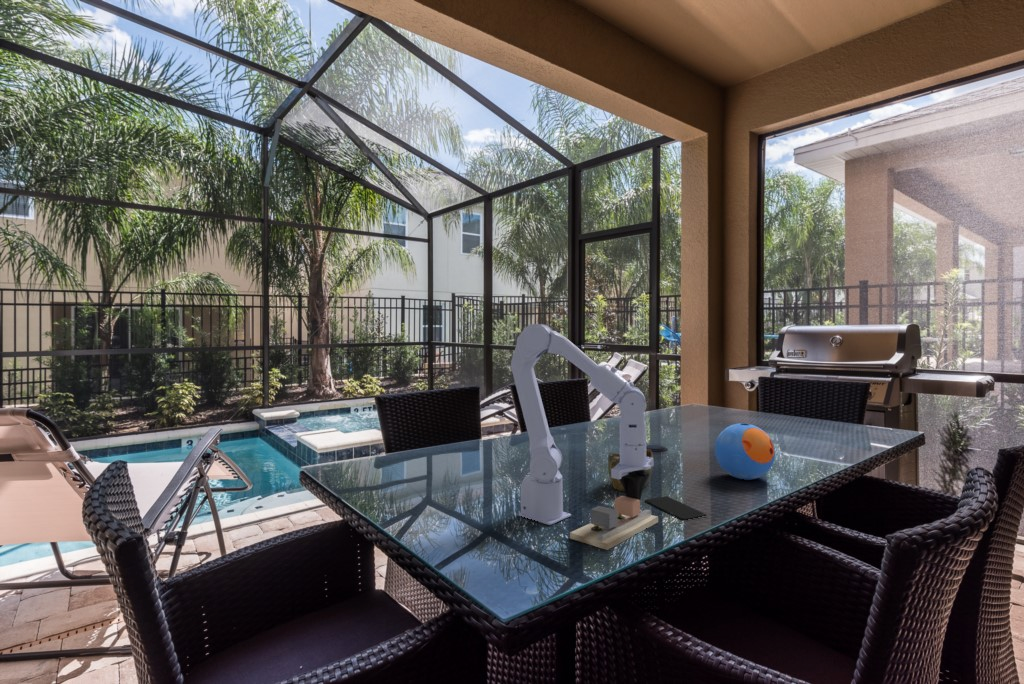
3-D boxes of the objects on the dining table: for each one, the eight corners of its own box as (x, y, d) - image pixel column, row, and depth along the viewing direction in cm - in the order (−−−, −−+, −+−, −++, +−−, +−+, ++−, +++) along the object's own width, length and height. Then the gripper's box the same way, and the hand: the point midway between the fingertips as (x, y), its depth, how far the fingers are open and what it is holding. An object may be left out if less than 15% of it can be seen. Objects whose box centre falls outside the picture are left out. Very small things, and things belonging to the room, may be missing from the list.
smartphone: (682, 519, 119) (643, 499, 133) (682, 523, 119) (643, 502, 133) (708, 514, 122) (666, 495, 136) (708, 518, 122) (666, 499, 136)
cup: (585, 484, 148) (585, 448, 148) (641, 475, 157) (641, 440, 157) (616, 497, 137) (616, 458, 136) (674, 486, 146) (674, 449, 146)
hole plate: (570, 538, 110) (570, 532, 110) (622, 513, 125) (622, 507, 125) (607, 550, 104) (607, 543, 104) (658, 522, 119) (658, 516, 119)
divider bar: (597, 539, 106) (597, 533, 106) (646, 514, 120) (646, 509, 120) (602, 541, 106) (602, 535, 106) (651, 515, 119) (651, 510, 119)
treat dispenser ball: (747, 469, 161) (746, 418, 161) (788, 482, 146) (787, 426, 146) (703, 474, 156) (703, 421, 156) (741, 489, 142) (740, 430, 141)
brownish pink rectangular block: (613, 517, 118) (613, 498, 118) (621, 514, 120) (620, 495, 120) (632, 522, 114) (632, 503, 114) (640, 519, 117) (639, 499, 116)
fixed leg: (590, 529, 111) (589, 509, 111) (598, 525, 113) (598, 505, 113) (609, 534, 108) (609, 514, 108) (617, 530, 110) (617, 510, 110)
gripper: (631, 451, 111) (632, 517, 111) (665, 440, 121) (666, 500, 121) (602, 446, 115) (603, 509, 116) (637, 436, 126) (638, 494, 126)
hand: (633, 504), depth 119 cm, fingers closed
